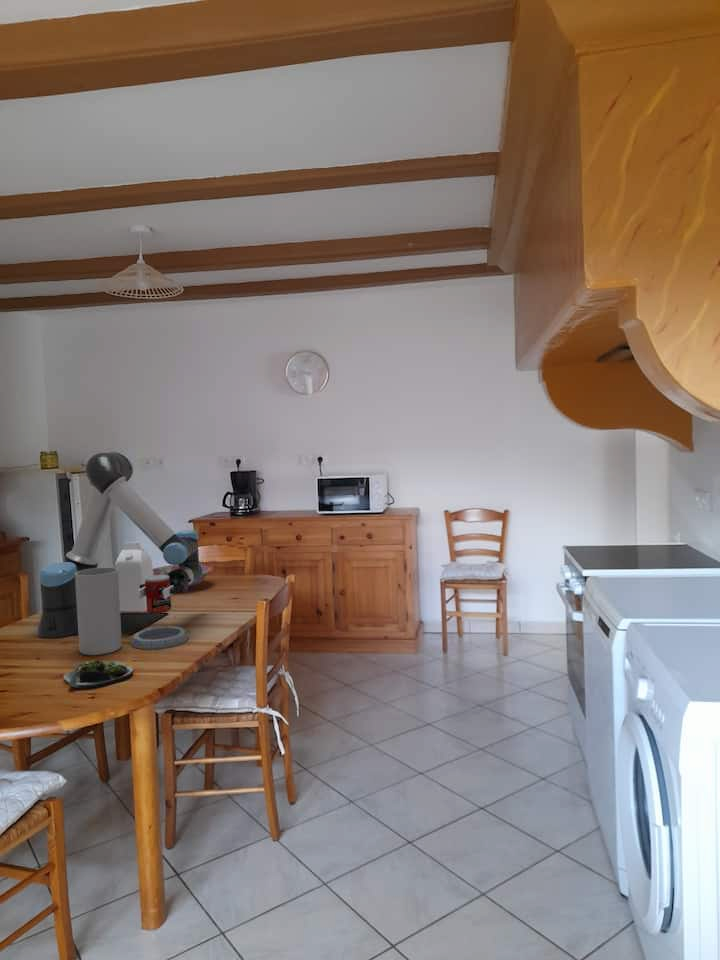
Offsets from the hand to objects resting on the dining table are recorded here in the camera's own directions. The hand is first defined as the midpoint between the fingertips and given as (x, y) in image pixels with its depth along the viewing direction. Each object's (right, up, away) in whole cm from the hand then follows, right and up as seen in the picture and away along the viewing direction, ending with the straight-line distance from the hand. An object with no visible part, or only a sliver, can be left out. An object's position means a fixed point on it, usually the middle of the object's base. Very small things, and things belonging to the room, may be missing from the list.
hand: (151, 594), depth 212 cm
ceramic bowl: (-15, -12, +86) cm, 88 cm away
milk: (-23, -14, +52) cm, 59 cm away
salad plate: (-6, -19, -27) cm, 34 cm away
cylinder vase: (-16, -17, -2) cm, 23 cm away
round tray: (+1, -16, +6) cm, 17 cm away
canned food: (+1, -6, +5) cm, 8 cm away
